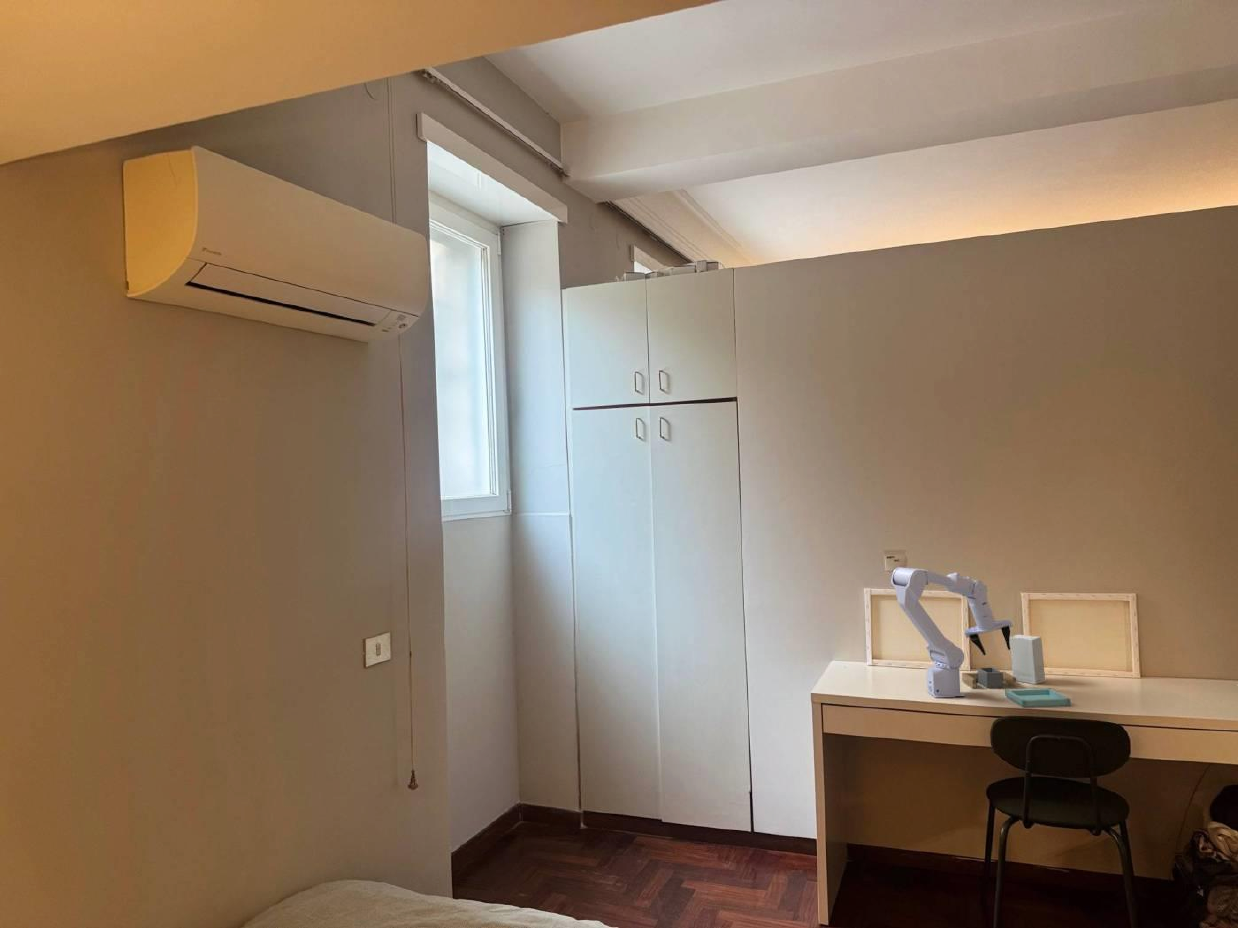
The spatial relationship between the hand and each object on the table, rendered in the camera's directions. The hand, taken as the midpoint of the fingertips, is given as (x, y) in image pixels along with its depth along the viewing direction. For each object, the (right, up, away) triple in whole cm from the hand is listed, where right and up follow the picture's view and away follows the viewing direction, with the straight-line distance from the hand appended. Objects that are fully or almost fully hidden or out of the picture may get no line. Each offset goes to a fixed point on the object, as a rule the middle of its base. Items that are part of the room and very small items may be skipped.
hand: (996, 651), depth 270 cm
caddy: (-1, -12, +2) cm, 12 cm away
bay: (-1, -12, +2) cm, 12 cm away
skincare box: (+13, -11, +5) cm, 18 cm away
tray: (+4, -11, -18) cm, 21 cm away
